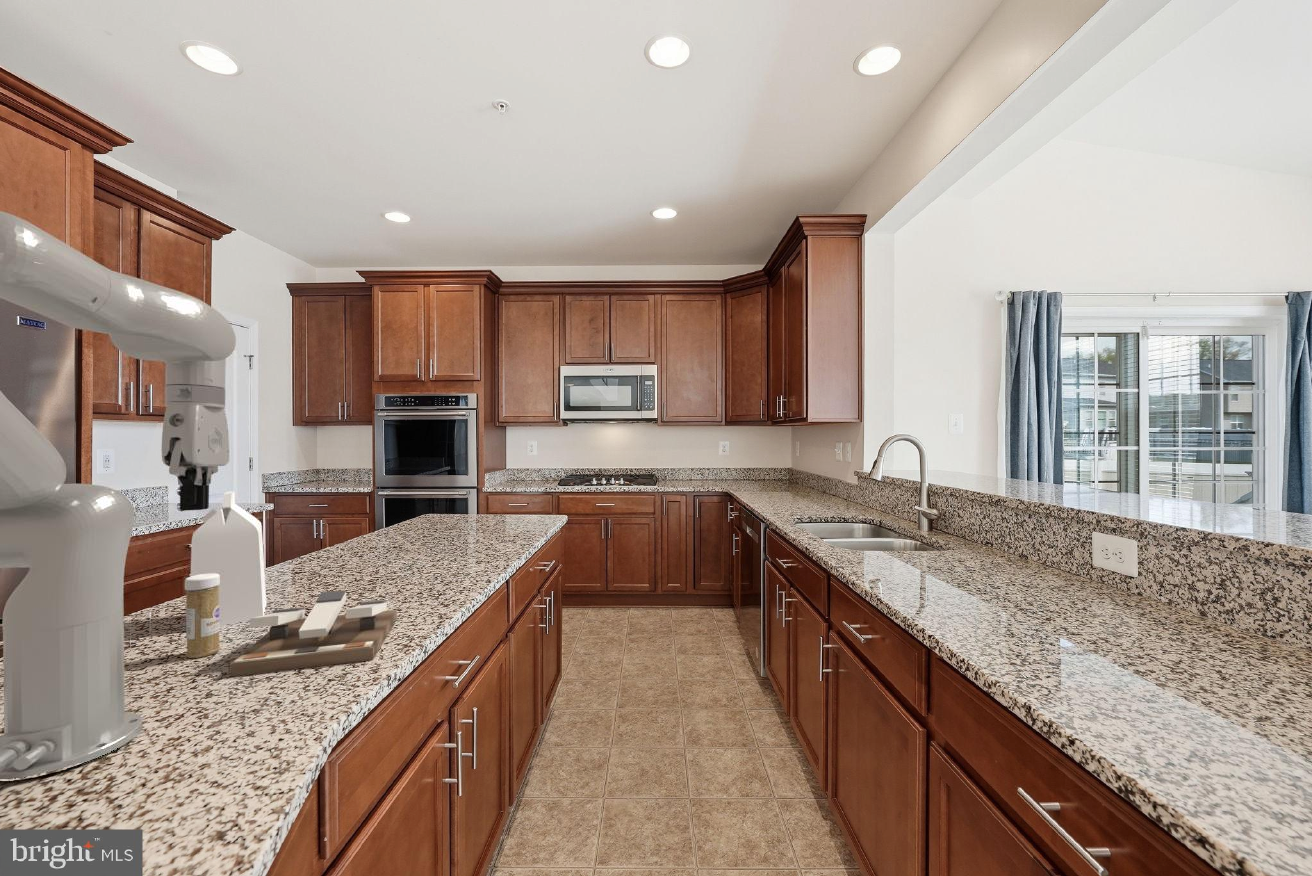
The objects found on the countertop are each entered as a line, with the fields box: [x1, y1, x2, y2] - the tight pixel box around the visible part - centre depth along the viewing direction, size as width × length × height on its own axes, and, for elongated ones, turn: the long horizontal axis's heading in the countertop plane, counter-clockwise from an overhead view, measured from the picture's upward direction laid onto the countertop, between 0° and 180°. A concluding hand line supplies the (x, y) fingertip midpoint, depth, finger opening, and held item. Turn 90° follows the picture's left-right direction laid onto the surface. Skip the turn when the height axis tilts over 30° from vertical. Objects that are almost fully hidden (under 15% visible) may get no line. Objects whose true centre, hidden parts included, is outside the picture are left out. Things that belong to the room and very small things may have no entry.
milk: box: [190, 491, 267, 627], centre depth 109 cm, size 12×12×26 cm
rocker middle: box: [299, 590, 347, 639], centre depth 93 cm, size 12×4×2 cm, turn 16°
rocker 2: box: [345, 599, 388, 619], centre depth 95 cm, size 12×4×2 cm, turn 16°
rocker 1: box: [249, 606, 306, 629], centre depth 91 cm, size 12×4×2 cm, turn 16°
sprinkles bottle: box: [184, 573, 221, 659], centre depth 90 cm, size 5×5×14 cm
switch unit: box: [229, 609, 398, 677], centre depth 93 cm, size 20×20×4 cm
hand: (194, 509), depth 86 cm, fingers closed
